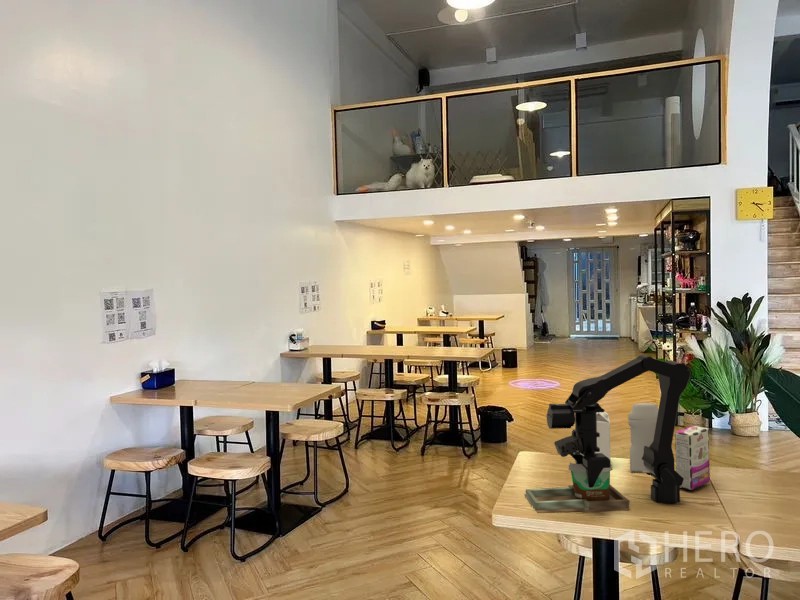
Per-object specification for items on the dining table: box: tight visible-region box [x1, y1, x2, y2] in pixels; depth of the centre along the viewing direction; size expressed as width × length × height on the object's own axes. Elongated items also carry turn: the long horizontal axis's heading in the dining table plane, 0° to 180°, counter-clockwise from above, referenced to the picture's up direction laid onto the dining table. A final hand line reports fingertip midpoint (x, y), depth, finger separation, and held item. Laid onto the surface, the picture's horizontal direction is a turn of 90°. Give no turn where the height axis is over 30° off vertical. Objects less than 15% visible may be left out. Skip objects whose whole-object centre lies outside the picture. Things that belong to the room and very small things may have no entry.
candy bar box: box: [674, 425, 711, 491], centre depth 172 cm, size 11×5×16 cm, turn 126°
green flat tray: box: [524, 484, 630, 514], centre depth 160 cm, size 25×13×2 cm, turn 93°
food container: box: [568, 462, 613, 501], centre depth 159 cm, size 12×6×10 cm, turn 95°
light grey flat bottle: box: [627, 402, 659, 474], centre depth 184 cm, size 11×4×22 cm, turn 87°
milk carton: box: [595, 410, 612, 464], centre depth 192 cm, size 7×7×19 cm
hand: (586, 483), depth 160 cm, fingers open, 6 cm apart
